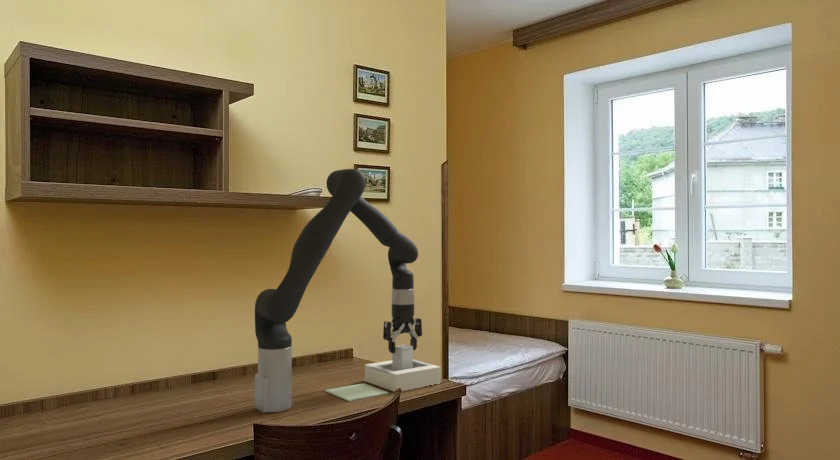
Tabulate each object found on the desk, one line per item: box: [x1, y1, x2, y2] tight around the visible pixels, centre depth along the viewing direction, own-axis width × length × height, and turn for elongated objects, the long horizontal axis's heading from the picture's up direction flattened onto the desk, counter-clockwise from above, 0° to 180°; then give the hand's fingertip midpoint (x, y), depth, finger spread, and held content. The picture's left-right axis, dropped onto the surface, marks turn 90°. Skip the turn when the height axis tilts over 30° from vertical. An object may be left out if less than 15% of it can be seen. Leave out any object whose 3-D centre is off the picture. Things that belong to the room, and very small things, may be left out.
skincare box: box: [391, 344, 414, 371], centre depth 197 cm, size 6×4×12 cm
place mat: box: [325, 382, 389, 402], centre depth 184 cm, size 14×14×1 cm
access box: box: [364, 358, 442, 393], centre depth 197 cm, size 18×18×6 cm
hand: (402, 351), depth 197 cm, fingers open, 8 cm apart
